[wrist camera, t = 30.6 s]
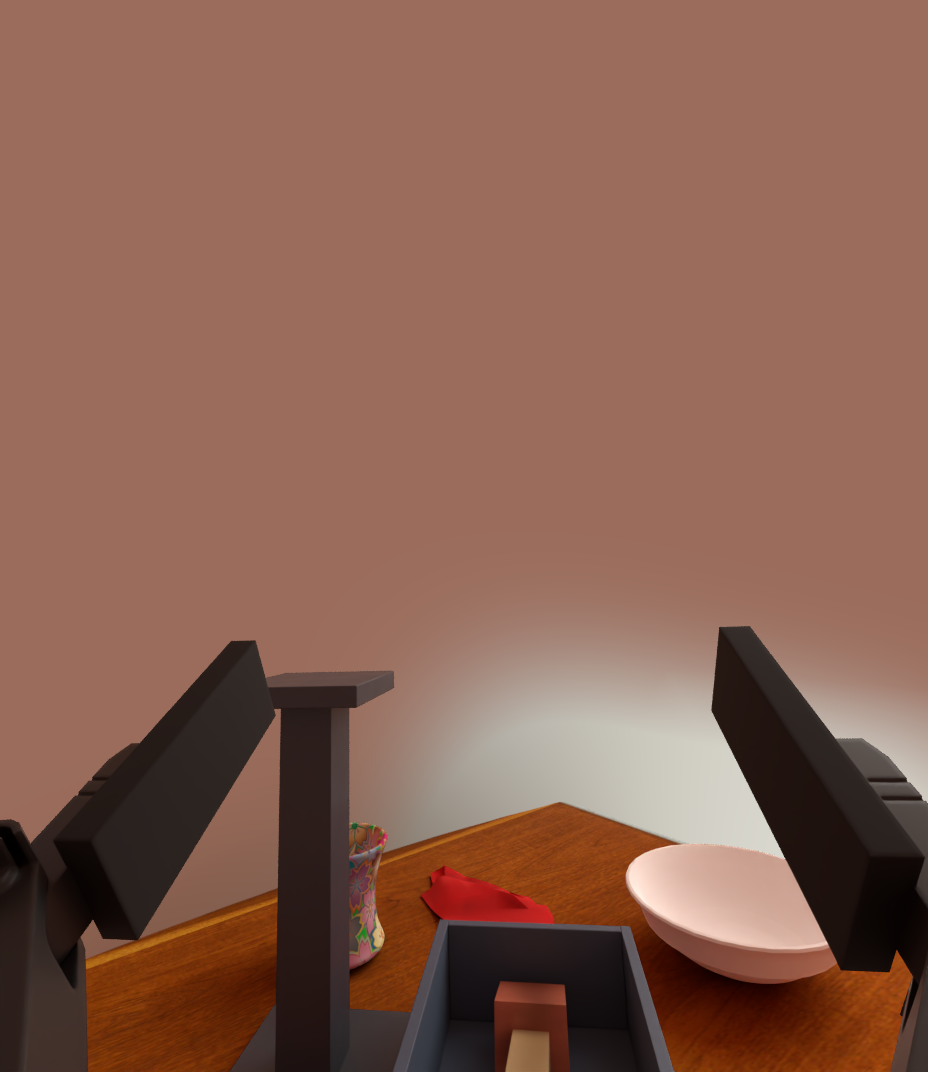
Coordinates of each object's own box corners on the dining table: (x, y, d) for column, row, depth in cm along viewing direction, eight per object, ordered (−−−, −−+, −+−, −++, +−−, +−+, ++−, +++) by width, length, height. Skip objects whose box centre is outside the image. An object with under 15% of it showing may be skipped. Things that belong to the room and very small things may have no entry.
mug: (296, 934, 57) (297, 828, 59) (383, 920, 59) (382, 817, 61) (287, 1014, 46) (289, 879, 47) (396, 992, 48) (395, 863, 49)
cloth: (599, 999, 46) (597, 970, 46) (440, 1024, 44) (440, 993, 44) (520, 864, 71) (519, 846, 72) (417, 876, 69) (417, 857, 70)
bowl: (635, 892, 63) (631, 834, 64) (831, 919, 57) (823, 854, 58) (623, 1008, 45) (617, 925, 46) (911, 1069, 38) (898, 970, 39)
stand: (182, 1163, 33) (200, 690, 38) (274, 1019, 45) (280, 671, 49) (369, 1182, 32) (366, 687, 36) (413, 1028, 44) (407, 669, 48)
